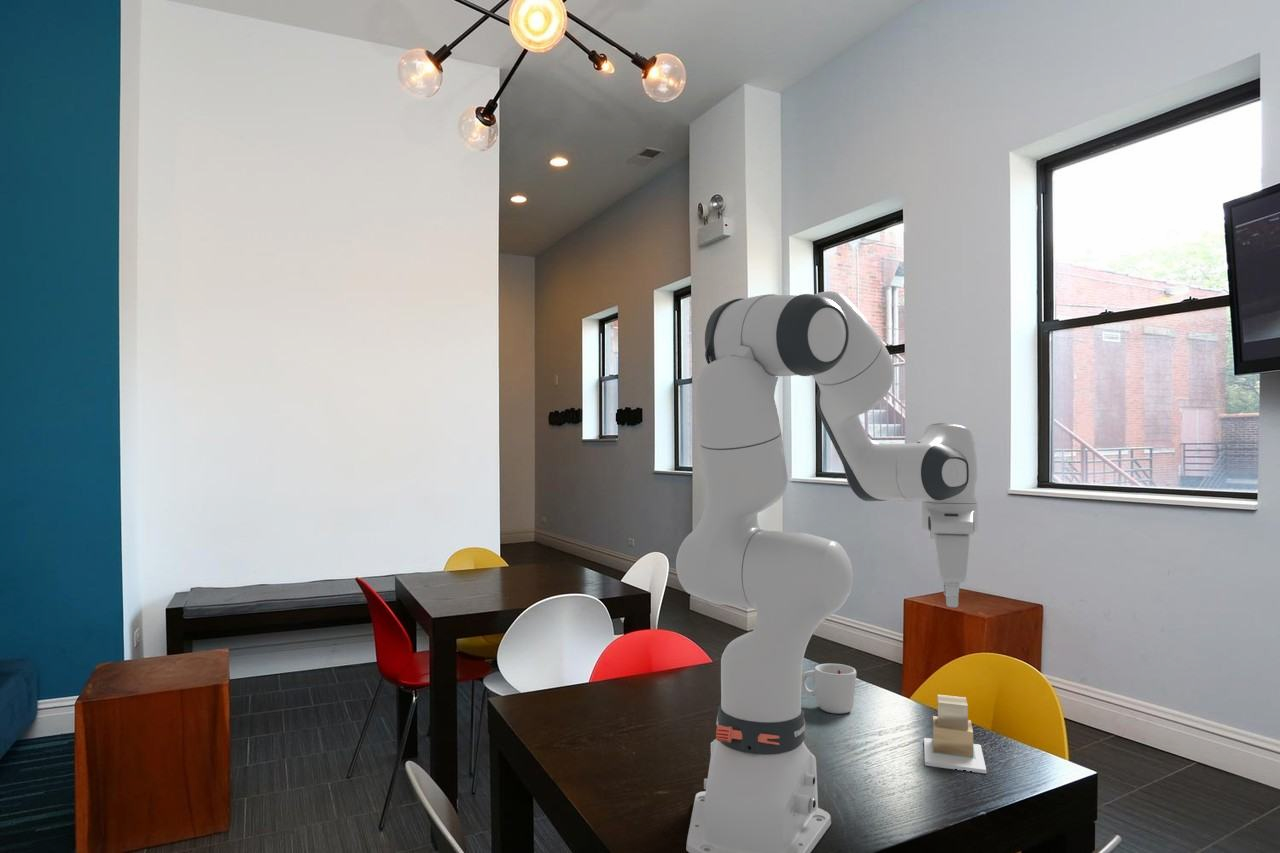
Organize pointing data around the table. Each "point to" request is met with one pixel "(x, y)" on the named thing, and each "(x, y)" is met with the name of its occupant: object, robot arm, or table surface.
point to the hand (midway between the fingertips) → (950, 601)
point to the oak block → (953, 740)
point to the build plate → (954, 759)
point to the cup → (832, 687)
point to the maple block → (952, 712)
